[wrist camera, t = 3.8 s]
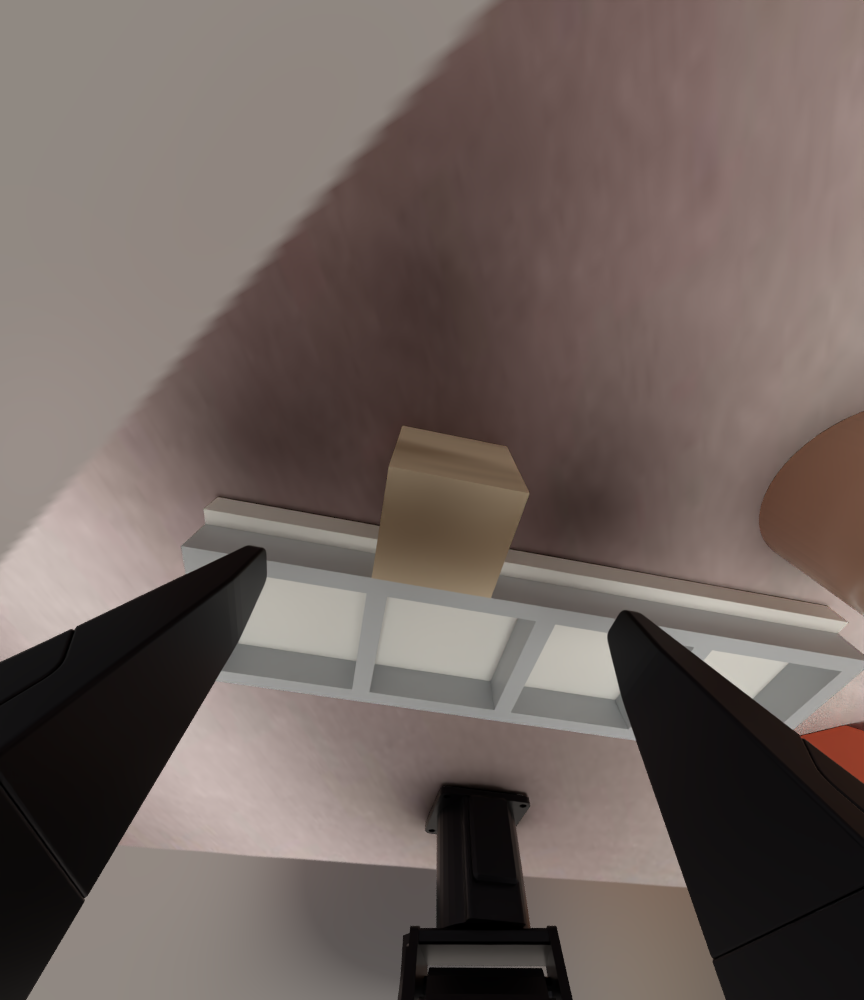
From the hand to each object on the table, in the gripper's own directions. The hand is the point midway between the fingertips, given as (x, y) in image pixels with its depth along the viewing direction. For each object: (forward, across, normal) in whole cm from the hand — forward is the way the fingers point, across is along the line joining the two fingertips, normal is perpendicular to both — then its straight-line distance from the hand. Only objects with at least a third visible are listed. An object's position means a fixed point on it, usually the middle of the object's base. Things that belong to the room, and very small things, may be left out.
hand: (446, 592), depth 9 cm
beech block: (+6, 0, 0) cm, 6 cm away
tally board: (+6, -5, +7) cm, 10 cm away
